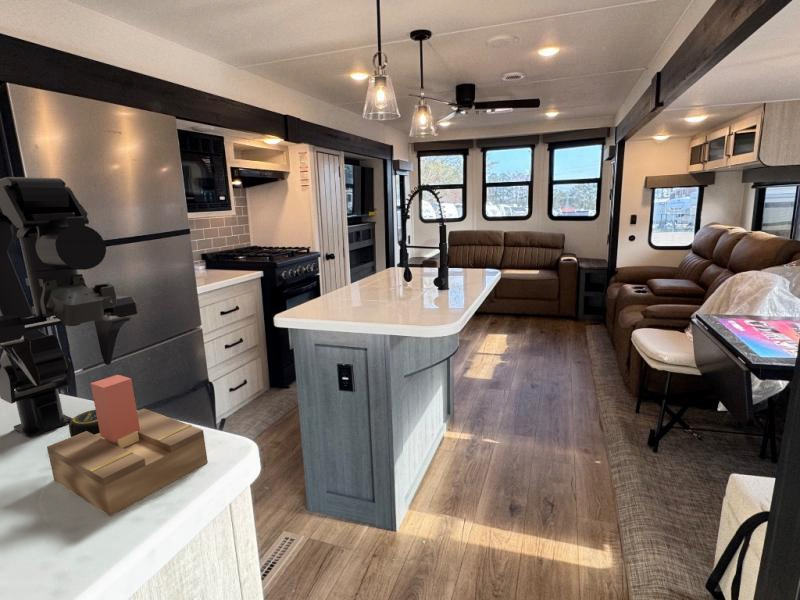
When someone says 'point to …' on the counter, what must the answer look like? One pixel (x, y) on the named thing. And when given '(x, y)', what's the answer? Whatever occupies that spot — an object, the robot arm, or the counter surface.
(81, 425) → the tape measure
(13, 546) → the counter surface
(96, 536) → the counter surface
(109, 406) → the red tall block
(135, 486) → the grooved wooden block
